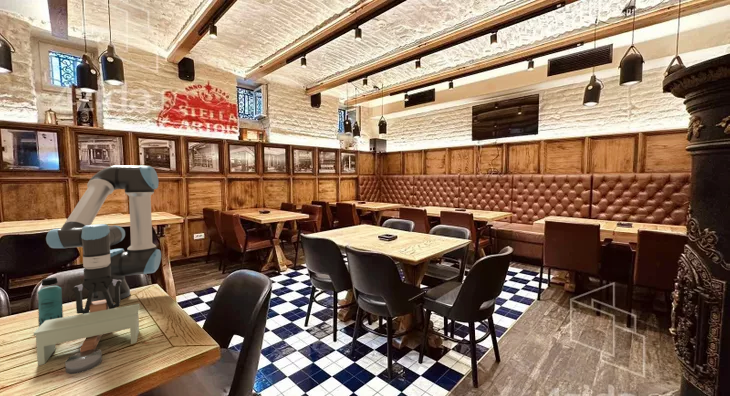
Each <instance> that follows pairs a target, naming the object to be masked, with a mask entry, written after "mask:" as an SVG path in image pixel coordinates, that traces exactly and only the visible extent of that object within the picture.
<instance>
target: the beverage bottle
mask: <svg viewBox="0 0 730 396" xmlns="http://www.w3.org/2000/svg"><path fill="white" fill-rule="evenodd" d="M56 284H58V278H57V277H48V278H43V279H42V281H41V286H43V287H42V288H41V289H40V290H39V291H37V299H38V300H37V301H38V304H37V305H38V306H37V307H38V313H37V316H38V319H37V320H38V328H39V327H40V326H41V325H42V324H43V323H44V321H45V320H51V319H57V318H62V317H64V311H63V308H64V307H63V293H62V290H63V289H62V287H61V286H59V285H56Z"/></svg>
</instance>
